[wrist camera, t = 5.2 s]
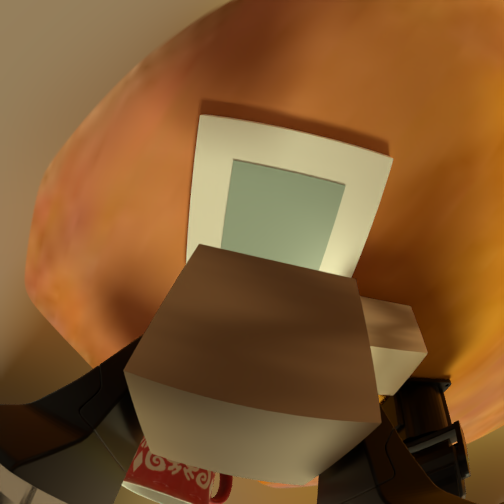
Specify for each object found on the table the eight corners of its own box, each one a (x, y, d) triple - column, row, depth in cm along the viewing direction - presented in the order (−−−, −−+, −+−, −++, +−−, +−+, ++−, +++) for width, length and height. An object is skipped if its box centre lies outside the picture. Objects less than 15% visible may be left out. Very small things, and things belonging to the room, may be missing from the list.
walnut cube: (355, 278, 9) (381, 423, 5) (310, 373, 11) (303, 485, 7) (199, 243, 9) (123, 370, 5) (192, 347, 12) (151, 453, 7)
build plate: (389, 155, 15) (394, 159, 14) (336, 303, 21) (337, 310, 20) (204, 114, 16) (199, 114, 15) (188, 269, 21) (184, 276, 21)
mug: (144, 377, 30) (99, 475, 19) (200, 363, 27) (156, 489, 15) (211, 429, 35) (187, 515, 23) (268, 422, 31) (251, 523, 20)
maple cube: (410, 305, 20) (427, 353, 16) (383, 348, 23) (393, 395, 18) (353, 294, 20) (362, 344, 16) (331, 340, 23) (333, 390, 19)
